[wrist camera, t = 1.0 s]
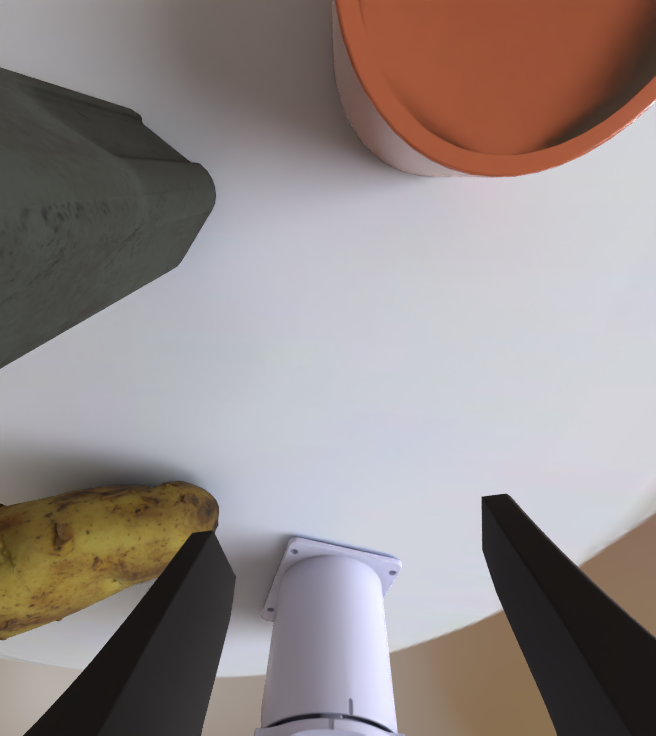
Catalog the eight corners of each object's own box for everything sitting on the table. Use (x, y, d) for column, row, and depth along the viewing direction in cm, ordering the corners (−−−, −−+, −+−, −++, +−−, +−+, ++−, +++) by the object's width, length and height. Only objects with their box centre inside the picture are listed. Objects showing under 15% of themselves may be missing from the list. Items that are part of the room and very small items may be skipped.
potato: (215, 555, 26) (170, 698, 19) (23, 518, 25) (-103, 656, 18) (233, 469, 22) (186, 606, 15) (8, 420, 21) (-160, 544, 14)
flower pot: (493, 203, 15) (599, 222, 9) (307, 137, 14) (284, 109, 8) (617, -60, 12) (928, -321, 6) (380, -171, 11) (437, -632, 5)
